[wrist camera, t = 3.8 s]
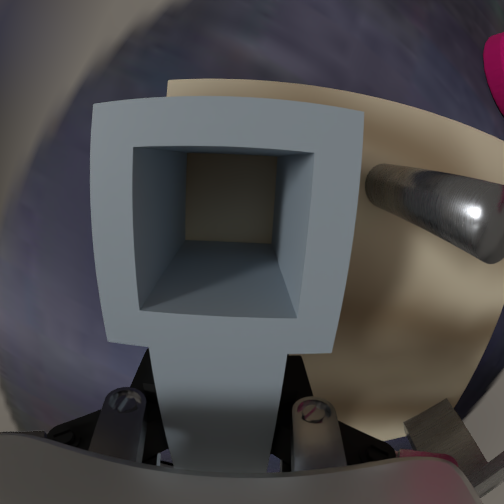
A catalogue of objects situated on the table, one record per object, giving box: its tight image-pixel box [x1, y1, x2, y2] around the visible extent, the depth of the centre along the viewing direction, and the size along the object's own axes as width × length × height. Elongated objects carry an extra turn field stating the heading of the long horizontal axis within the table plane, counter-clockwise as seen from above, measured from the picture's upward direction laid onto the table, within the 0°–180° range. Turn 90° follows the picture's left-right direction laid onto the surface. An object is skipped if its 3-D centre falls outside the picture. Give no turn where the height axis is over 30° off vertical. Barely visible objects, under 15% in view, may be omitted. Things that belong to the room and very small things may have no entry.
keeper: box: [403, 398, 504, 498], centre depth 12 cm, size 6×7×9 cm
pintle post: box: [365, 164, 504, 264], centre depth 8 cm, size 2×2×8 cm
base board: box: [167, 79, 504, 441], centre depth 13 cm, size 20×19×1 cm
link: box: [90, 96, 364, 473], centre depth 10 cm, size 16×5×6 cm, turn 177°
